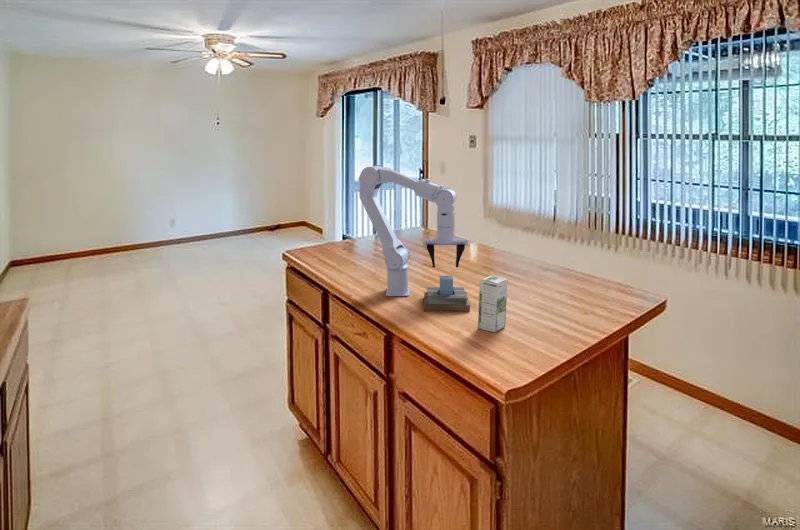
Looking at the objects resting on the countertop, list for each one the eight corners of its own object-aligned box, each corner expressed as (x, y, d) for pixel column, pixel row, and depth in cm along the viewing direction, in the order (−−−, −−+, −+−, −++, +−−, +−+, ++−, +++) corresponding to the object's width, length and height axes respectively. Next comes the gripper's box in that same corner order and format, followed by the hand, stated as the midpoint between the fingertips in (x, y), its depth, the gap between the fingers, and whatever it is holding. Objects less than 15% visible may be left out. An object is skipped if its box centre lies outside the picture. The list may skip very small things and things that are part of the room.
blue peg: (439, 296, 174) (439, 275, 172) (452, 296, 174) (452, 275, 172) (440, 300, 170) (440, 279, 168) (452, 300, 170) (453, 279, 168)
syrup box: (487, 323, 156) (489, 274, 152) (506, 327, 152) (508, 278, 148) (477, 328, 151) (478, 279, 148) (496, 333, 148) (498, 282, 144)
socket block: (424, 297, 179) (424, 286, 178) (466, 297, 179) (466, 286, 178) (424, 311, 166) (424, 299, 165) (469, 311, 165) (470, 299, 164)
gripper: (423, 228, 171) (423, 269, 174) (469, 228, 170) (468, 269, 173) (423, 224, 177) (423, 264, 181) (467, 224, 177) (466, 264, 180)
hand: (445, 266), depth 178 cm, fingers open, 7 cm apart
